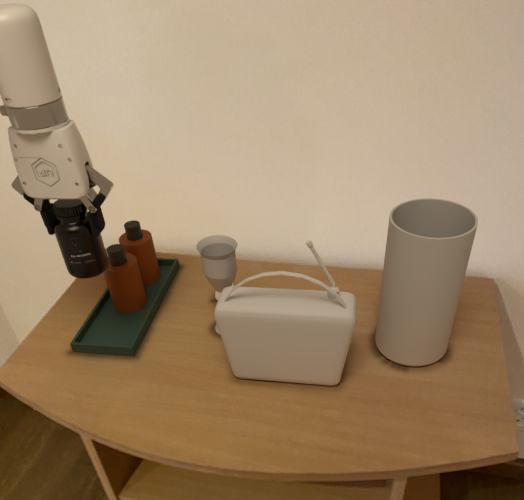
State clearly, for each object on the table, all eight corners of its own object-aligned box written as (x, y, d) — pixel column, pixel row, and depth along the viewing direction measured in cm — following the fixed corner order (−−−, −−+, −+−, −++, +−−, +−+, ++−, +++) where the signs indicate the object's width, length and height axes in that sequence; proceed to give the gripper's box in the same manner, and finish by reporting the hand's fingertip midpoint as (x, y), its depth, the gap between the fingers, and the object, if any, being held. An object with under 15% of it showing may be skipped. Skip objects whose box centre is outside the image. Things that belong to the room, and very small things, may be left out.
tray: (134, 356, 94) (131, 347, 92) (73, 352, 96) (69, 343, 94) (179, 266, 116) (178, 258, 114) (129, 264, 118) (127, 257, 116)
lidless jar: (223, 307, 103) (243, 297, 105) (221, 295, 101) (242, 286, 103) (210, 295, 106) (231, 287, 108) (209, 284, 104) (229, 275, 106)
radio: (352, 356, 90) (362, 229, 73) (350, 390, 84) (360, 260, 67) (232, 347, 94) (215, 225, 77) (222, 379, 88) (201, 254, 71)
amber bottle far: (123, 281, 112) (107, 227, 103) (144, 266, 116) (131, 213, 107) (146, 289, 109) (132, 235, 100) (167, 273, 113) (155, 220, 104)
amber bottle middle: (107, 307, 105) (89, 252, 96) (130, 290, 109) (115, 236, 100) (131, 316, 102) (114, 261, 93) (154, 299, 106) (140, 244, 97)
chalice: (202, 329, 98) (187, 247, 86) (226, 311, 102) (215, 231, 90) (229, 343, 95) (218, 260, 83) (253, 325, 98) (246, 243, 86)
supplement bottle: (83, 285, 82) (59, 217, 74) (61, 270, 86) (36, 204, 78) (118, 266, 86) (98, 200, 78) (95, 253, 89) (75, 188, 81)
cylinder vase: (382, 317, 98) (397, 194, 81) (449, 329, 94) (480, 203, 77) (368, 360, 89) (382, 232, 72) (442, 375, 85) (474, 244, 69)
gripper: (-35, 123, 68) (16, 241, 80) (85, 123, 65) (119, 245, 77) (-5, 105, 73) (39, 218, 85) (108, 104, 71) (136, 221, 82)
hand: (77, 230), depth 81 cm, fingers closed on supplement bottle, 6 cm apart
